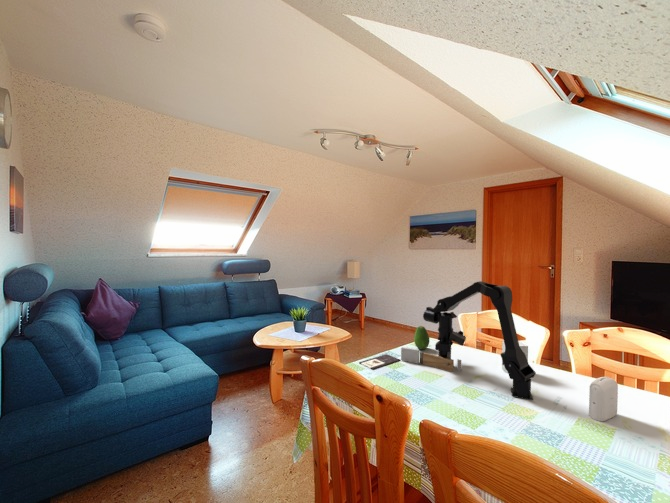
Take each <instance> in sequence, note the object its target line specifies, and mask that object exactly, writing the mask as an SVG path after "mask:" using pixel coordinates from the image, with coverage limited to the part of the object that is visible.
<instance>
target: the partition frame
mask: <svg viewBox="0 0 670 503" xmlns="http://www.w3.org/2000/svg"><path fill="white" fill-rule="evenodd" d="M400 350H401V351H400V354H401V355H400V361H401V360H402V362H407V361H409V363H413V362H415V364H420V349H419V348H413V347H405V346H402V347H401V348H400ZM456 362H457V364H456V366H457V367H456V369H457V371H462V359H457V361H456Z"/></svg>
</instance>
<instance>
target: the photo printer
mask: <svg viewBox="0 0 670 503" xmlns="http://www.w3.org/2000/svg"><path fill="white" fill-rule="evenodd" d="M618 386H619V385H618V382H617V381H616V380H615V379H614V378H611V377H609V376H601V377H597V378H595V379H594V380H593V381H592V382H591V383H590V385H589V391H588V392H589V395H588V396H589V398H588V400H589V401H588V402H589V403H588V404H589V405H588V416H589V417H590V418H591V419H593V420H595V421H598V422H605V421H608V420H610V419H612V418H613V417H615V416H617V414H618V398H619V396H618V394H619V393H618V392H619V387H618Z"/></svg>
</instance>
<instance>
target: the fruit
mask: <svg viewBox="0 0 670 503" xmlns="http://www.w3.org/2000/svg"><path fill="white" fill-rule="evenodd" d="M414 333H415V334H414V336H413V337H414V338H413V341H414V344H415V347H417V349H419V350H425V349H427V348H428V347H429V345H430V336H429V334H428V332H427V329H426V328H425V326H422V325H420V326H418V327H417V328H415V332H414Z"/></svg>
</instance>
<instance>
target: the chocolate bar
mask: <svg viewBox="0 0 670 503" xmlns="http://www.w3.org/2000/svg"><path fill="white" fill-rule="evenodd" d="M397 361H398V362H400V361H401V358H397V357H394V356H392V355H390V354H387V353H386V354H382V355H378V356H376V357H373V358H369V359H366V360H363V361H359V362H358V363H359V365H362V366H363V367H365V368H367V369H370V370H372V371H374V370H377V369H380V368H383V367H386V366H389V365H391V364H394V362H395V363H398V362H397Z"/></svg>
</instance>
